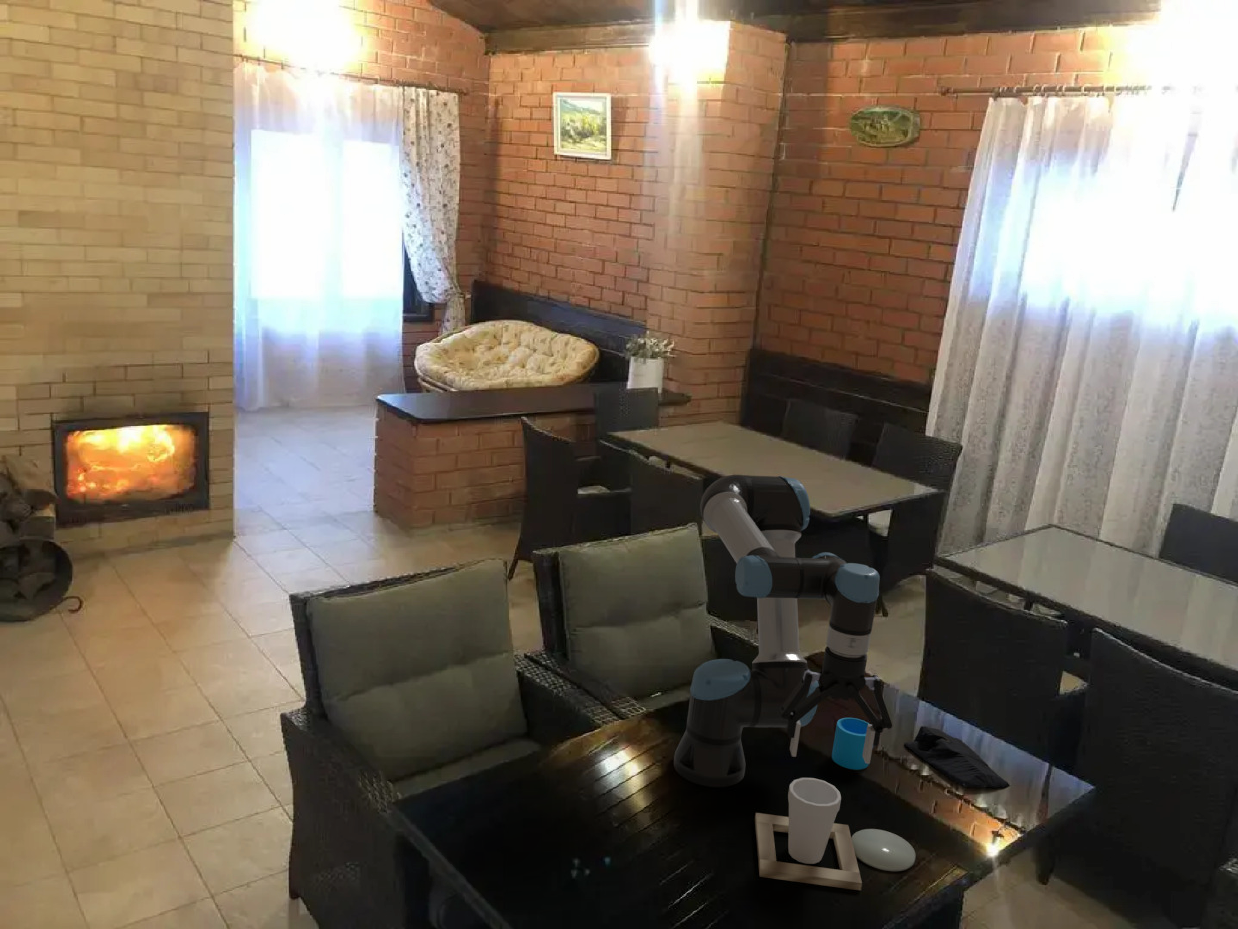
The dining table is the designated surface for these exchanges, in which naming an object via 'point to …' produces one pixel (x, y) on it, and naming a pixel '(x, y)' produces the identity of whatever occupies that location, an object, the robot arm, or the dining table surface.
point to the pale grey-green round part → (883, 850)
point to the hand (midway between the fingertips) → (829, 756)
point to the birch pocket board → (802, 873)
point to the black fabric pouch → (954, 759)
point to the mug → (850, 743)
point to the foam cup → (811, 818)
